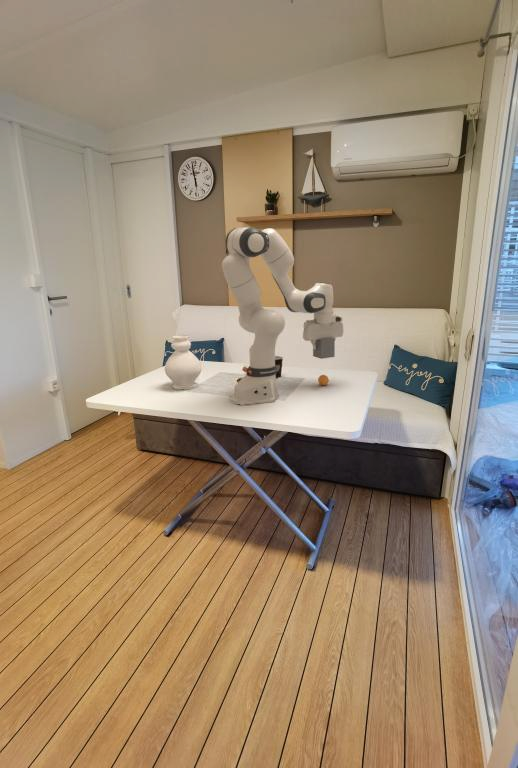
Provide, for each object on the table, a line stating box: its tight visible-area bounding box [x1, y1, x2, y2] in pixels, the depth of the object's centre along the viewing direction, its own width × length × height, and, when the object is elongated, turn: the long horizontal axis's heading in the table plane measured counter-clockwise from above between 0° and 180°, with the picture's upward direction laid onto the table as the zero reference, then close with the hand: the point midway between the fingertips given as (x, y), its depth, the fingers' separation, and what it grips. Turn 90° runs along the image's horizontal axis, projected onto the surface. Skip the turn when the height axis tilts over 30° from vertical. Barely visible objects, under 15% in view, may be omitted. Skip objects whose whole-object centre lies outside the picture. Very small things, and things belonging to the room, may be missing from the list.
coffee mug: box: [275, 355, 284, 379], centre depth 214 cm, size 12×9×10 cm
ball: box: [317, 374, 329, 386], centre depth 196 cm, size 5×5×5 cm
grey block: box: [312, 338, 336, 360], centre depth 191 cm, size 7×7×9 cm
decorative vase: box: [164, 334, 203, 390], centre depth 200 cm, size 18×18×25 cm
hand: (323, 348), depth 192 cm, fingers closed on grey block, 7 cm apart
